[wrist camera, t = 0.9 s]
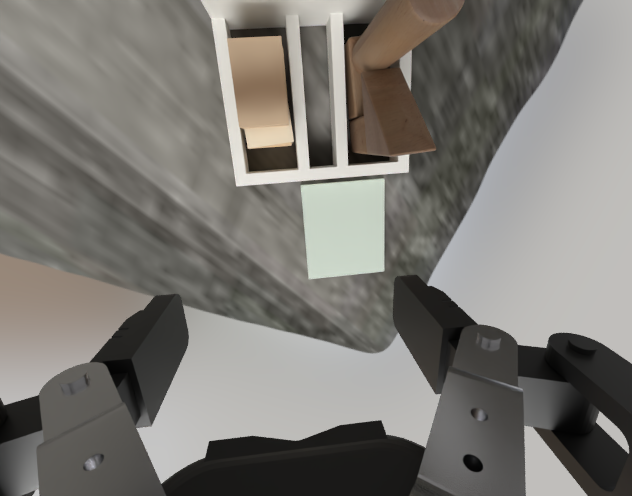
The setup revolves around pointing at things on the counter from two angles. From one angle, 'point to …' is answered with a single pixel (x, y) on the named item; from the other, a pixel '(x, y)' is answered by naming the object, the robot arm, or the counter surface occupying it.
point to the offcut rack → (299, 80)
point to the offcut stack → (261, 90)
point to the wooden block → (390, 77)
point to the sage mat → (344, 227)
